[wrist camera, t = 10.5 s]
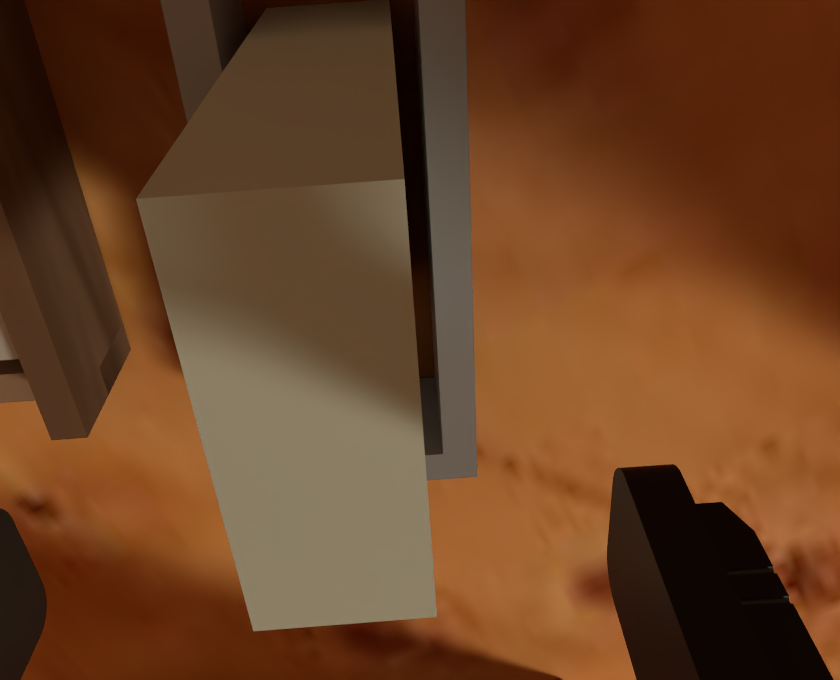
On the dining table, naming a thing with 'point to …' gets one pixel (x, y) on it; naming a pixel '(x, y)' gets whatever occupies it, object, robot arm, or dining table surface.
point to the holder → (443, 191)
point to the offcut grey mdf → (6, 343)
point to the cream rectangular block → (302, 318)
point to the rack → (49, 253)
